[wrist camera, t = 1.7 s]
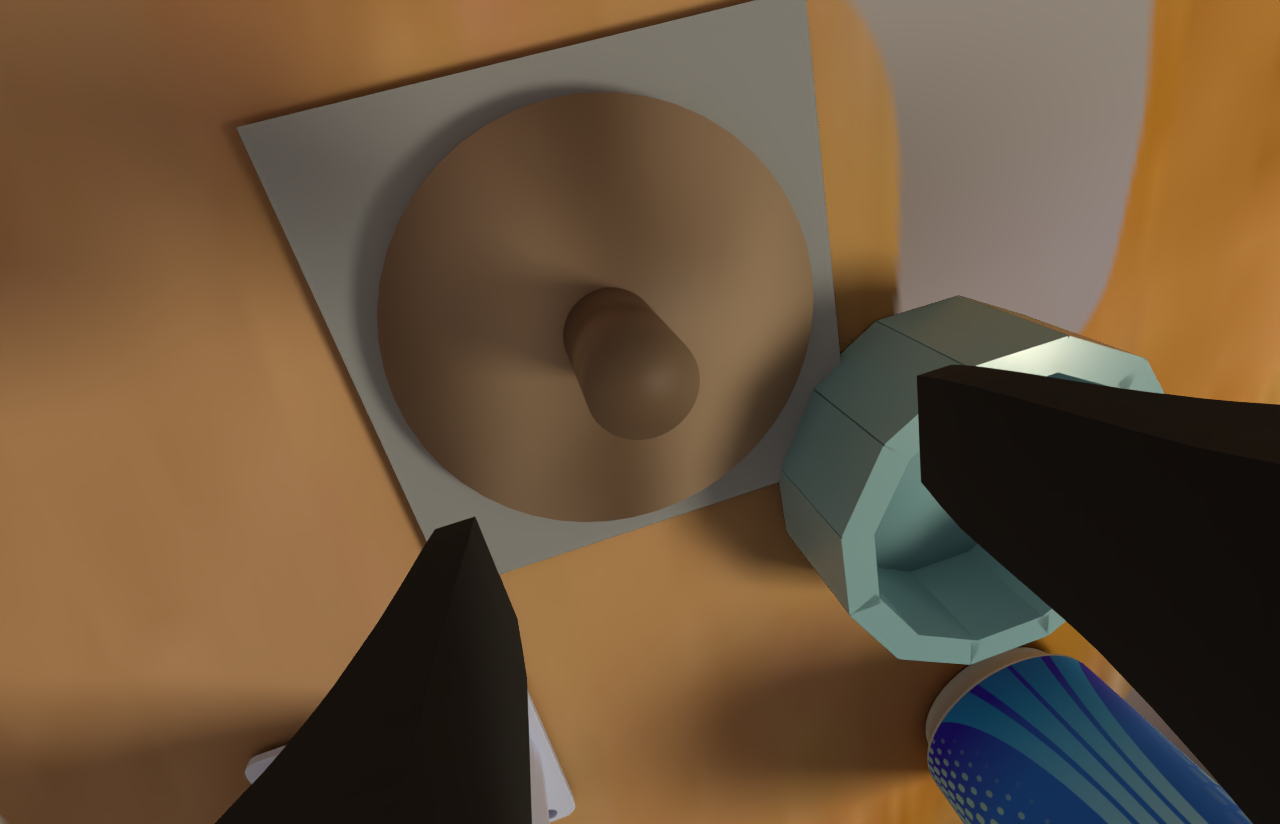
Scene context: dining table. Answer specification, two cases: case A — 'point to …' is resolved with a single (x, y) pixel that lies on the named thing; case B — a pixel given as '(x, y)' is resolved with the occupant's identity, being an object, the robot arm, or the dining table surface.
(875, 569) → the bowl
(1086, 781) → the beer can
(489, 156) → the lid
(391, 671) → the robot arm
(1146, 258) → the dining table surface
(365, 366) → the mat
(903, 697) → the dining table surface
